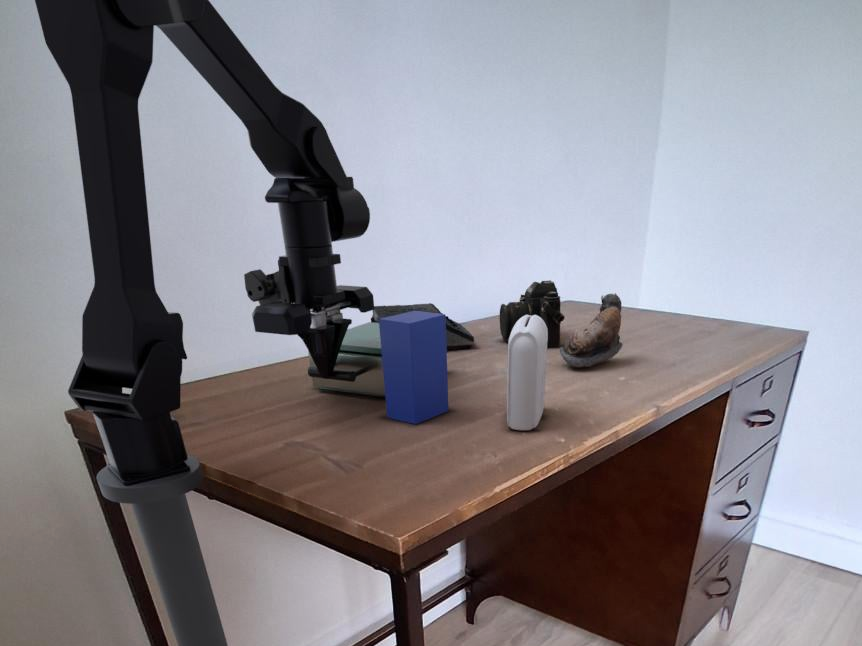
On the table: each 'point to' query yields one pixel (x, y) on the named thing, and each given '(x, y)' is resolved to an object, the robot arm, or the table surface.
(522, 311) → the film camera
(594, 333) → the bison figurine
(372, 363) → the drawer
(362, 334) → the cabinet
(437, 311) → the electronic device
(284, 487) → the table surface
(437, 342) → the carton
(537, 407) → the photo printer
